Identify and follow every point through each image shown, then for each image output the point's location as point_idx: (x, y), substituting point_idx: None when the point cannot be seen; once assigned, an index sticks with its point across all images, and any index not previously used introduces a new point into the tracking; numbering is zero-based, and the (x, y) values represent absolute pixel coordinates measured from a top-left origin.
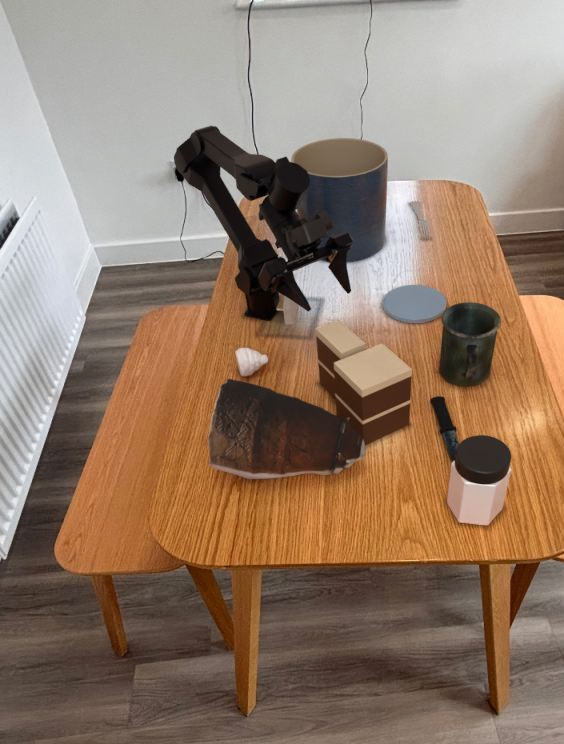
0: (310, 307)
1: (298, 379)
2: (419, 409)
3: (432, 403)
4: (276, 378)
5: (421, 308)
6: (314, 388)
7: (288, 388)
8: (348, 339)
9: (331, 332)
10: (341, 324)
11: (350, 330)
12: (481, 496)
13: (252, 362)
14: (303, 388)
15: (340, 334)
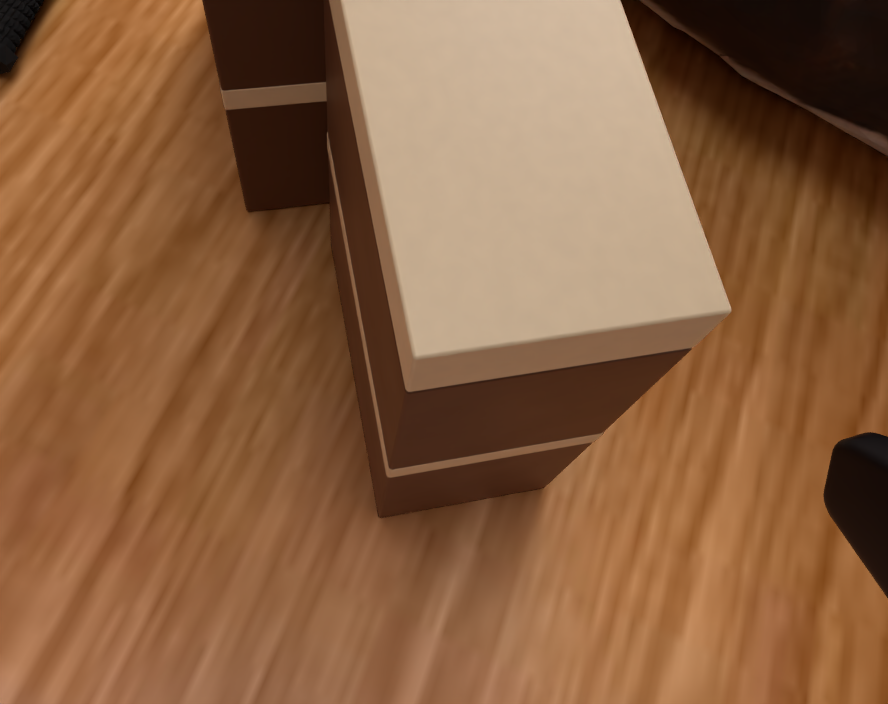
0: (857, 441)
1: (667, 592)
2: (102, 64)
3: (17, 39)
4: (809, 667)
5: None
6: (589, 459)
7: (746, 527)
8: (449, 10)
9: (578, 173)
10: (421, 252)
11: (370, 116)
12: None
13: None
14: (655, 487)
15: (498, 104)
